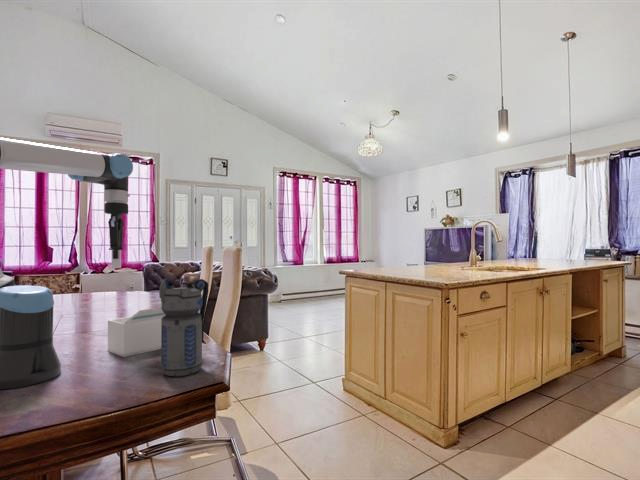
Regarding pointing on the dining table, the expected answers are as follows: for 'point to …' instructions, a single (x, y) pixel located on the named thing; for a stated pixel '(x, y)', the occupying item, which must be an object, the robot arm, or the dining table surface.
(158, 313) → the lid
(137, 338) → the box
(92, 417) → the dining table surface
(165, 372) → the beverage bottle
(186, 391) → the dining table surface
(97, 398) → the dining table surface
